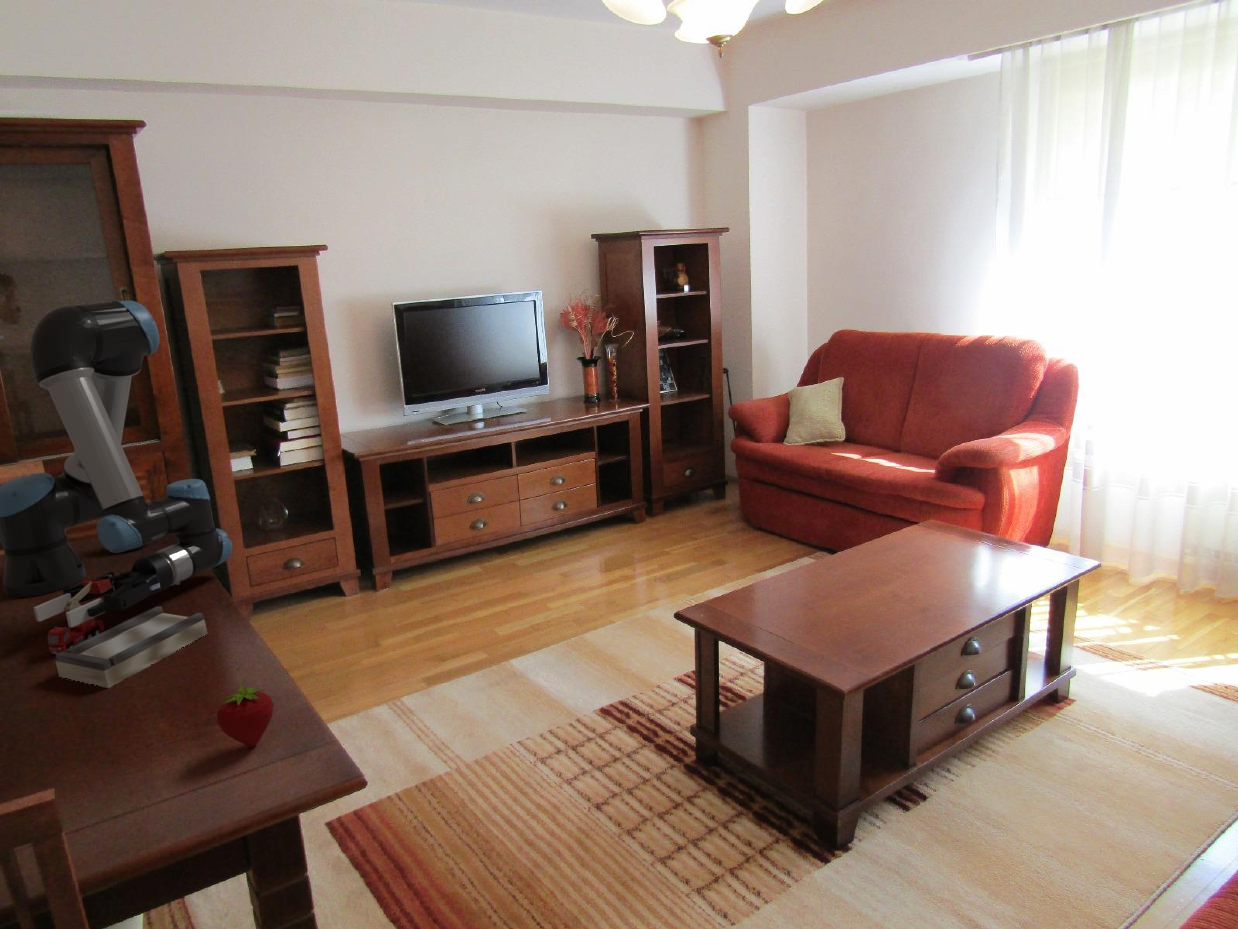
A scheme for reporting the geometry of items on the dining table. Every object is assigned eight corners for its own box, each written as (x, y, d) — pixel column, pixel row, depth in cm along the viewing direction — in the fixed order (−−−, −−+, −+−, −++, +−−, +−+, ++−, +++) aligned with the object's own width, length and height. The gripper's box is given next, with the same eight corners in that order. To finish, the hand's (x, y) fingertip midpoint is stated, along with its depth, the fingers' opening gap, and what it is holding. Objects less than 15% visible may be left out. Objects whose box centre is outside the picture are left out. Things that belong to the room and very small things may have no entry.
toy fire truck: (47, 656, 156) (35, 606, 153) (105, 622, 168) (94, 575, 166) (63, 657, 155) (51, 607, 152) (120, 623, 168) (109, 576, 165)
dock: (160, 626, 165) (156, 606, 164) (207, 634, 160) (203, 613, 159) (59, 677, 147) (53, 655, 146) (108, 688, 142) (103, 665, 141)
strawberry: (217, 748, 123) (204, 684, 120) (271, 727, 128) (260, 665, 125) (231, 766, 119) (218, 700, 116) (286, 743, 123) (274, 679, 121)
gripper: (202, 592, 173) (96, 644, 153) (129, 582, 181) (19, 629, 161) (195, 557, 171) (87, 604, 151) (121, 548, 179) (9, 591, 159)
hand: (52, 617), depth 156 cm, fingers open, 8 cm apart
